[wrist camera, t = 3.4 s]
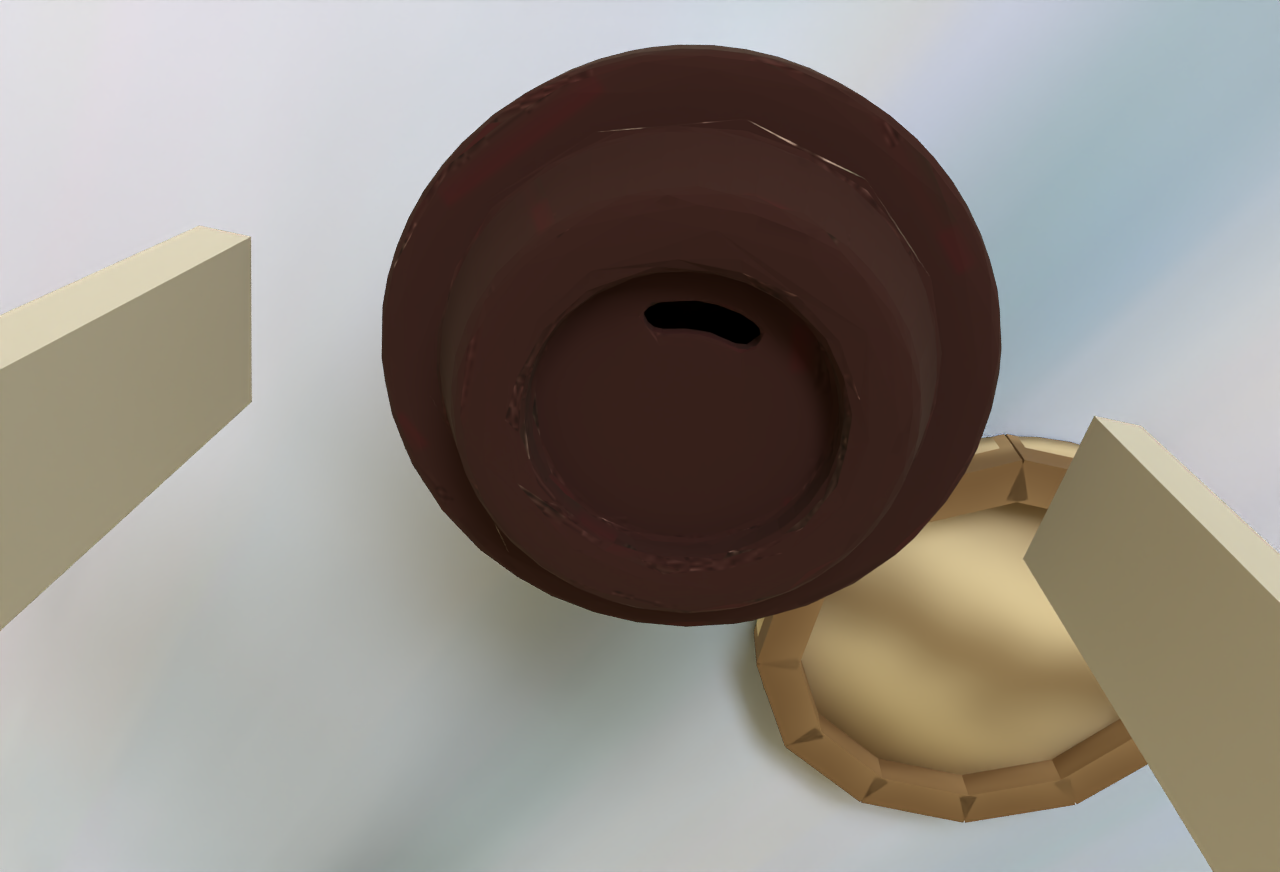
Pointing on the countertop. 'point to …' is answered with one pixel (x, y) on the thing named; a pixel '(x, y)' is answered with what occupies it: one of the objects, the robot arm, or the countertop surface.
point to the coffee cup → (691, 336)
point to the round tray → (951, 663)
